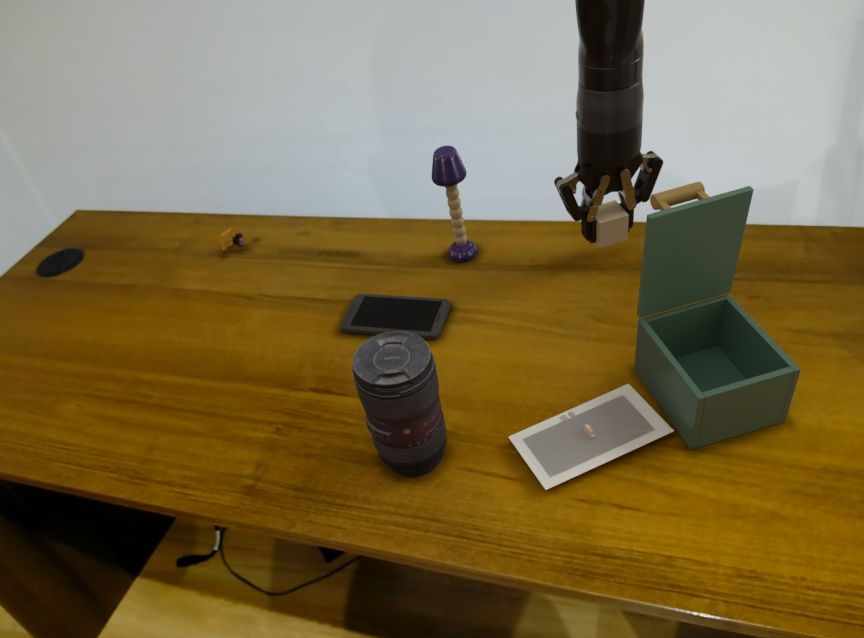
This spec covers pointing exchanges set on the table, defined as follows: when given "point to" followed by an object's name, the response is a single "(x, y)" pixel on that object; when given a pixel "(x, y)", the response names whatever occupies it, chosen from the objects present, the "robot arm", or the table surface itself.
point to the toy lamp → (453, 199)
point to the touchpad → (589, 435)
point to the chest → (714, 370)
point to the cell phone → (396, 315)
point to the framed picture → (232, 239)
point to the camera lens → (401, 401)
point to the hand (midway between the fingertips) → (607, 234)
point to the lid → (691, 246)
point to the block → (611, 224)
